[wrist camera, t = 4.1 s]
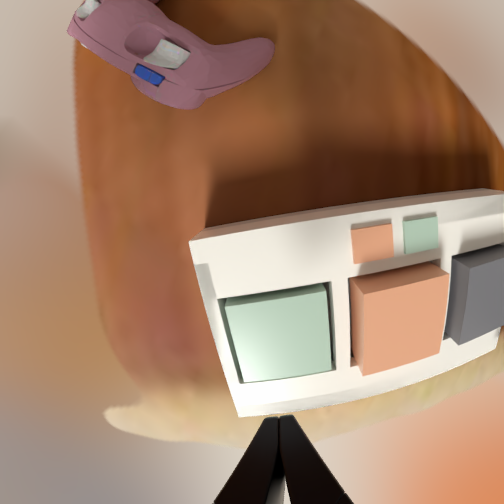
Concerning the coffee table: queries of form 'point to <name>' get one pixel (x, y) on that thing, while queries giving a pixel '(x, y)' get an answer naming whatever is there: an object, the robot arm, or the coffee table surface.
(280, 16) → the coffee table surface
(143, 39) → the video game controller
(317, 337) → the sage key
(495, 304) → the charcoal key
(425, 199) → the pad
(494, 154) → the coffee table surface
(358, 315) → the terracotta key
